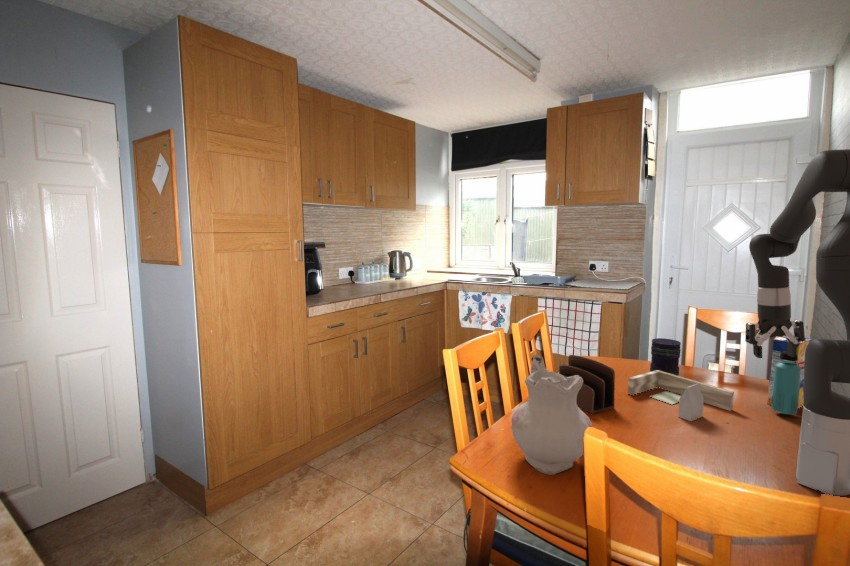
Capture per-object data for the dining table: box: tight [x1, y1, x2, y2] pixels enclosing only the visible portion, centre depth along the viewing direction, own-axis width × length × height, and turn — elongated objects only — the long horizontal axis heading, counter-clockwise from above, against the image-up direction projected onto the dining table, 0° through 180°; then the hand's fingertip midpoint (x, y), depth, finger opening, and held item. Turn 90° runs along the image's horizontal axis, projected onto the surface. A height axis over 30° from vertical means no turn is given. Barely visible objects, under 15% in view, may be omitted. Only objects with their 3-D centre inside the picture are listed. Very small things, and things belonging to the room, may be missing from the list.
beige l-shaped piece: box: [627, 370, 735, 412], centre depth 145 cm, size 17×25×6 cm, turn 30°
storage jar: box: [649, 337, 682, 376], centre depth 166 cm, size 10×10×15 cm
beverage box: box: [766, 337, 815, 409], centre depth 141 cm, size 7×11×22 cm, turn 120°
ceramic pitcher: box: [511, 353, 593, 476], centre depth 108 cm, size 22×20×25 cm
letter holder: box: [558, 354, 616, 415], centre depth 145 cm, size 10×20×14 cm, turn 27°
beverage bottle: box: [770, 351, 801, 415], centre depth 133 cm, size 6×7×20 cm
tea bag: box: [677, 384, 704, 422], centre depth 133 cm, size 4×7×10 cm, turn 121°
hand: (774, 356), depth 126 cm, fingers open, 8 cm apart
